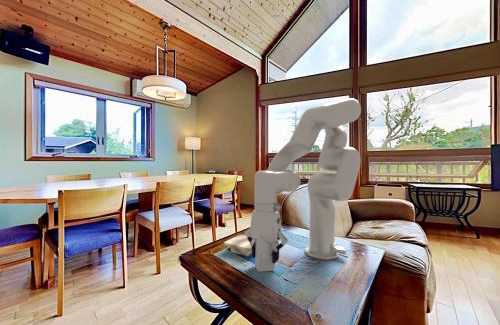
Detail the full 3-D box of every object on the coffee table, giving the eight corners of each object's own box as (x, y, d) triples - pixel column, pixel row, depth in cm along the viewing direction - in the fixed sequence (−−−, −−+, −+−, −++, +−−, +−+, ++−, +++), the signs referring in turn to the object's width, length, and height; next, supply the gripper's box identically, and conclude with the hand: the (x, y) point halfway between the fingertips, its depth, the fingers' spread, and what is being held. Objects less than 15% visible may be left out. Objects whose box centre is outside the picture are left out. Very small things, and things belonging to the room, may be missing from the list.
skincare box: (257, 272, 79) (258, 235, 78) (254, 266, 83) (254, 231, 83) (275, 270, 80) (276, 234, 80) (271, 264, 85) (271, 230, 84)
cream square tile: (264, 248, 99) (264, 239, 99) (249, 259, 88) (249, 248, 88) (240, 242, 105) (240, 233, 105) (223, 252, 95) (223, 242, 95)
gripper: (294, 208, 80) (293, 261, 80) (249, 202, 89) (249, 249, 89) (285, 212, 73) (284, 270, 74) (238, 206, 82) (237, 257, 83)
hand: (265, 258), depth 82 cm, fingers closed on skincare box, 7 cm apart
